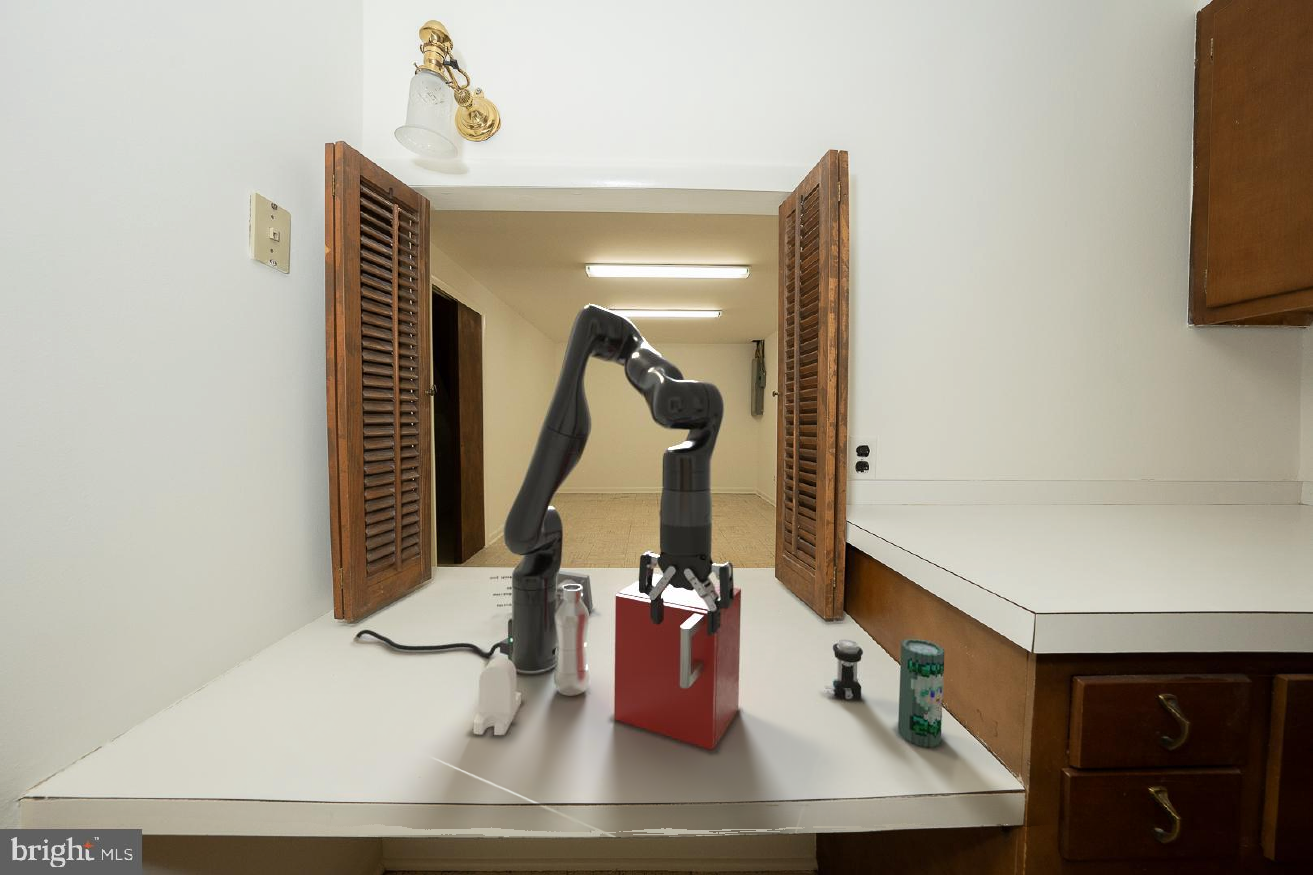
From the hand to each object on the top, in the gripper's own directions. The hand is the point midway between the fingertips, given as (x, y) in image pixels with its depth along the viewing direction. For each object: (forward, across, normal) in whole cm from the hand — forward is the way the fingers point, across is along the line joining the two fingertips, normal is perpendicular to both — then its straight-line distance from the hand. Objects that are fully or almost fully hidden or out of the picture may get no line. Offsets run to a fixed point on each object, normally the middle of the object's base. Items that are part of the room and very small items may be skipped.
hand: (684, 628), depth 78 cm
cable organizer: (+22, +34, +2) cm, 40 cm away
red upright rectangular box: (+22, +7, -13) cm, 26 cm away
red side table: (+21, +7, -4) cm, 23 cm away
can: (+22, -31, -26) cm, 46 cm away
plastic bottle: (+22, +28, -10) cm, 37 cm away
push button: (+22, -18, -33) cm, 44 cm away
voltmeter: (+22, +58, -40) cm, 73 cm away
